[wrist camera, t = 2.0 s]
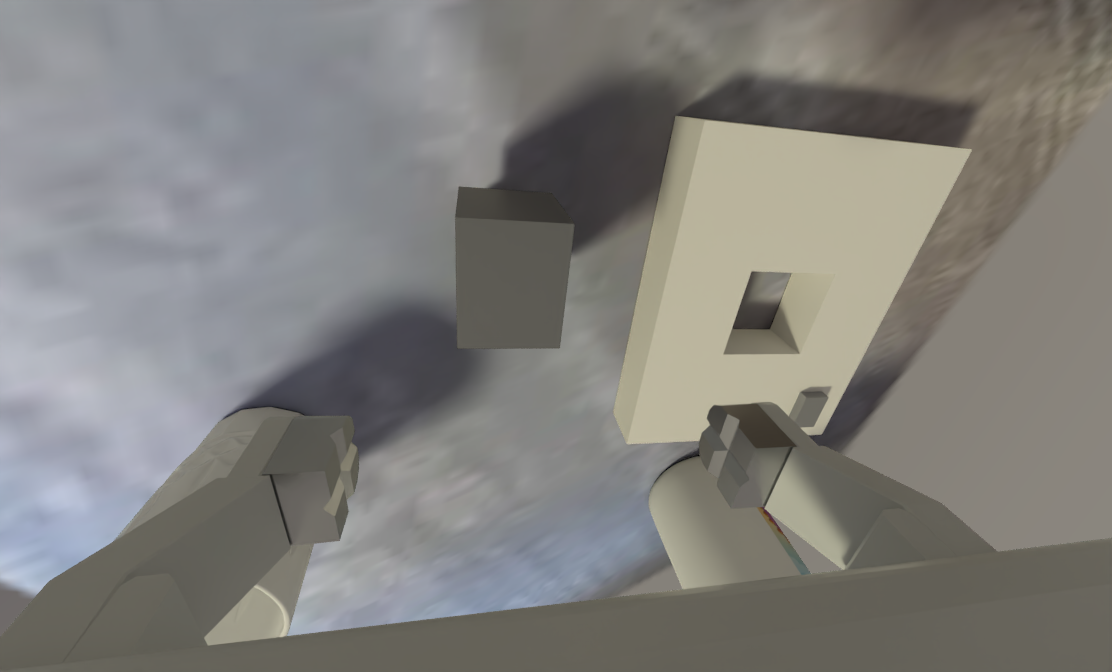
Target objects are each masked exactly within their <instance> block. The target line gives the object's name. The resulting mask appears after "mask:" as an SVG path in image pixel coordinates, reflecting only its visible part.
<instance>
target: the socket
mask: <svg viewBox="0 0 1112 672" xmlns="http://www.w3.org/2000/svg"><path fill="white" fill-rule="evenodd" d="M971 151H972V150H971V149H964V148H956V147H948V146H940V145H932V144H925V143H917V142H908V141H899V140H890V139H881V138H872V137H863V136H854V135H845V134H836V133H827V132H818V131H809V130H800V129H791V128H782V127H773V126H764V125H755V124H746V123H737V122H728V121H719V120H710V119H701V118H692V117H683V116H675V121H674V125H673V130H672V135H671V140H670V144H669V149H668V154H667V159H666V163H665V168H664V173H663V178H662V183H661V187H660V192H659V197H658V202H657V206H656V211H655V216H654V221H653V225H652V230H651V235H650V240H649V245H648V249H647V254H646V259H645V264H644V268H643V273H642V278H641V283H640V287H639V292H638V297H637V302H636V306H635V311H634V316H633V321H632V326H631V330H630V335H629V340H628V345H627V349H626V354H625V359H624V364H623V368H622V373H621V378H620V383H619V388H618V392H617V397H616V402H615V407H614V411H613V413H614V416H615V418H616V420H617V423H618V425H619V427H620V429H621V432H622V434H623V436H624V439H625V441H626V443H627V444H641V443H661V442H682V441H700V437H701V434H702V432H703V431H704V430H705V429H706V428H707V427H708V426H710V424H709V422H708V420H707V415H708V413H709V410H710V409H711V407H712V406H713V405H723V404H751V403H758V402H772V403H774V404H777V405H778V406H779V407H780V408H781V409H782V410H783V411H784V412H785V413H786V414H787V415H788V416H789V417H790V418H791V419H792V420H793V421H794V422H795V423H796V424H797V425H798V426H799V427H800V428H801V429H802V430H803V431H804V432H805V433H806V434H807V435H822V433H823V431H824V430H825V428H826V426H827V424H828V422H829V420H830V418H831V416H832V414H833V413H834V411H835V409H836V407H837V405H838V403H839V401H840V399H841V397H842V395H843V394H844V392H845V390H846V388H847V386H848V384H849V382H850V380H851V378H852V377H853V375H854V373H855V371H856V369H857V367H858V365H859V363H860V361H861V359H862V358H863V356H864V354H865V352H866V350H867V348H868V346H869V344H870V342H871V340H872V339H873V337H874V335H875V333H876V331H877V329H878V327H879V325H880V323H881V322H882V320H883V318H884V316H885V314H886V312H887V310H888V308H889V306H890V304H891V303H892V301H893V299H894V297H895V295H896V293H897V291H898V289H899V287H900V285H901V284H902V282H903V280H904V278H905V276H906V274H907V272H908V270H909V268H910V267H911V265H912V263H913V261H914V259H915V257H916V255H917V253H918V251H919V249H920V248H921V246H922V244H923V242H924V240H925V238H926V236H927V234H928V232H929V231H930V229H931V227H932V225H933V223H934V221H935V219H936V217H937V215H938V213H939V212H940V210H941V208H942V206H943V204H944V202H945V200H946V198H947V196H948V194H949V193H950V191H951V189H952V187H953V185H954V183H955V181H956V179H957V177H958V176H959V174H960V172H961V170H962V168H963V166H964V164H965V162H966V160H967V158H968V157H969V155H970V153H971ZM751 271H760V272H788V273H792V274H791V277H790V279H789V282H788V284H787V287H786V289H785V292H784V295H783V297H782V300H781V302H780V305H779V307H778V310H777V313H776V315H775V318H774V320H773V323H772V325H771V328H770V329H732V327H733V324H734V321H735V318H736V315H737V312H738V309H739V306H740V304H741V301H742V298H743V295H744V292H745V289H746V286H747V283H748V280H749V277H750V274H751Z"/></svg>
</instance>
